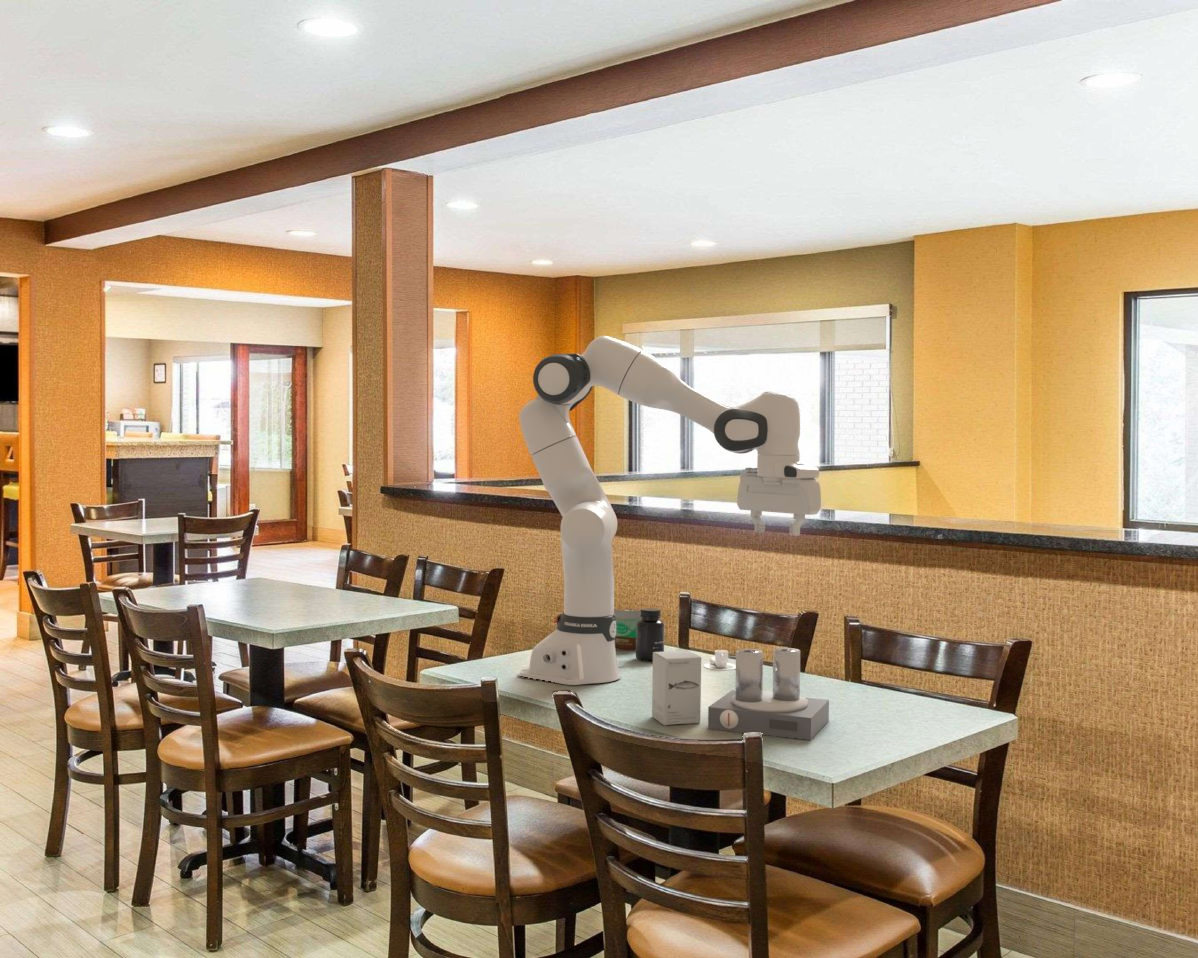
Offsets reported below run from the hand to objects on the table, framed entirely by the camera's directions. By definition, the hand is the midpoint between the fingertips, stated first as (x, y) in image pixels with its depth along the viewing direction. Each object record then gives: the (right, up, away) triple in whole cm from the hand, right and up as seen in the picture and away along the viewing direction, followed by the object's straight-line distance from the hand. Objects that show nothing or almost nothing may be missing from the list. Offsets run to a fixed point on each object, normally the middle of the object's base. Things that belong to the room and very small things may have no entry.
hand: (776, 533), depth 241 cm
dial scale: (-6, -34, -30) cm, 46 cm away
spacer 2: (-3, -29, -29) cm, 41 cm away
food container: (-31, -31, +44) cm, 62 cm away
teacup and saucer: (-7, -33, +25) cm, 41 cm away
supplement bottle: (-26, -32, +31) cm, 51 cm away
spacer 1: (-10, -29, -30) cm, 43 cm away
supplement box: (-23, -34, -27) cm, 49 cm away
